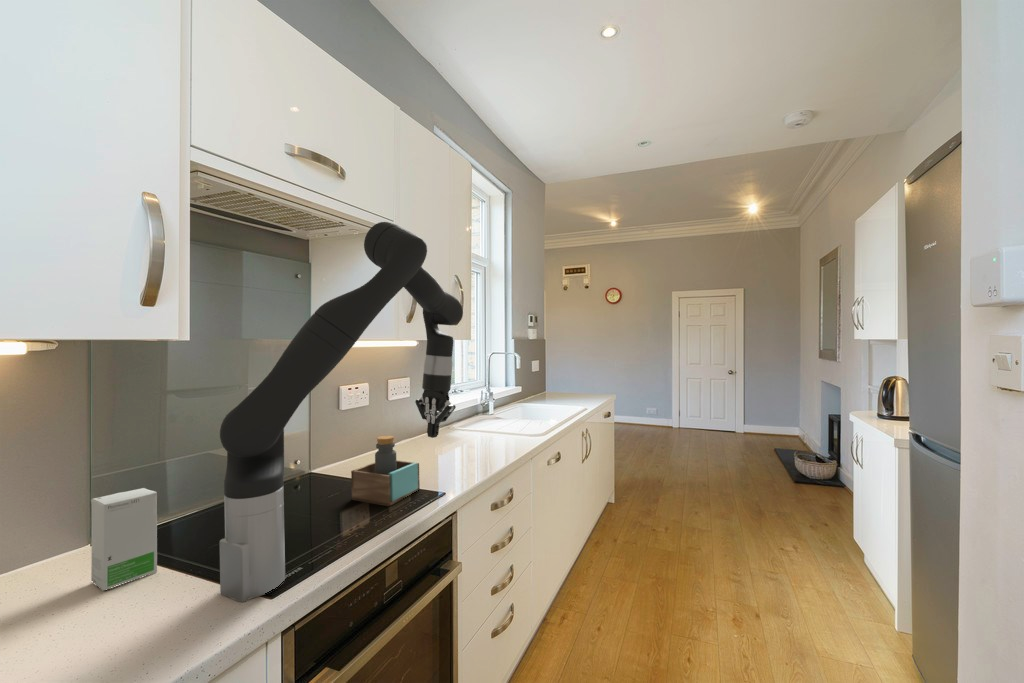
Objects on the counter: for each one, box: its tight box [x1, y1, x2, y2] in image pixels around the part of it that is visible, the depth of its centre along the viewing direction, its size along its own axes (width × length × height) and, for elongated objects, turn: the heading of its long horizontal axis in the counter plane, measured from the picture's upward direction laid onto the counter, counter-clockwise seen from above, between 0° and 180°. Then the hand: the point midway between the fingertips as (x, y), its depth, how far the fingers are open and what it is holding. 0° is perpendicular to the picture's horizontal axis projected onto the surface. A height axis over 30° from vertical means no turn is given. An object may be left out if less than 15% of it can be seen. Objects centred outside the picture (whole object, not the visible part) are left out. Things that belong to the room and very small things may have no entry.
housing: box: [350, 459, 421, 507], centre depth 125 cm, size 13×13×8 cm
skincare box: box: [90, 487, 158, 591], centre depth 83 cm, size 8×7×16 cm
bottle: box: [374, 435, 397, 475], centre depth 124 cm, size 6×6×15 cm
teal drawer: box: [389, 462, 419, 501], centre depth 125 cm, size 11×12×7 cm
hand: (432, 436), depth 118 cm, fingers closed
